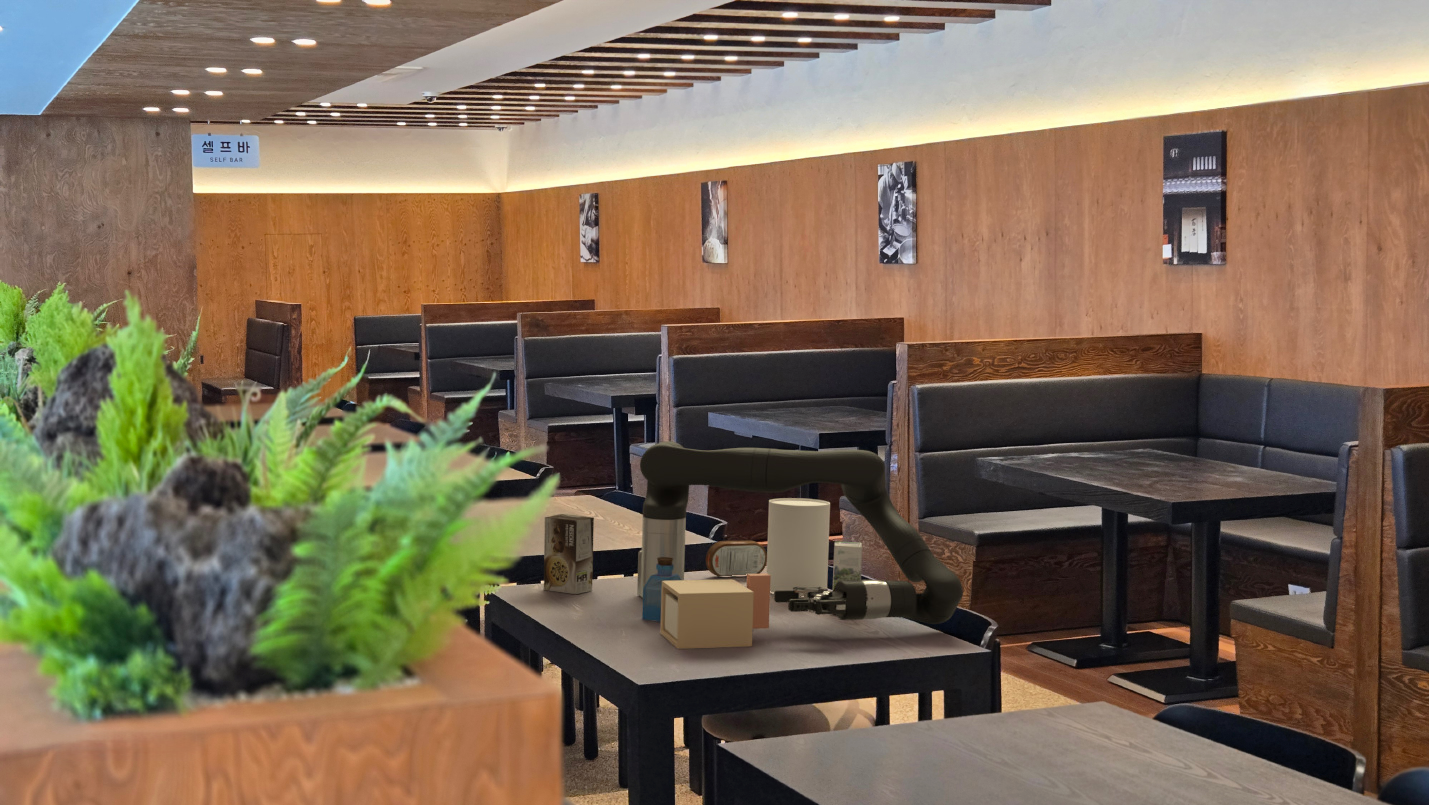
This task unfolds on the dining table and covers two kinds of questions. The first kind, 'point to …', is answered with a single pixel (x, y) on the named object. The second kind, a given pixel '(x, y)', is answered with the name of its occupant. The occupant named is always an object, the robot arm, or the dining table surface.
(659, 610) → the perfume bottle
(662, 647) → the dining table surface
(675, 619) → the tray
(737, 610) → the mailer sleeve
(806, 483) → the robot arm
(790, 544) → the canister
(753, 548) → the tin
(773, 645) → the dining table surface
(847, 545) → the syrup box
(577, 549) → the coffee box
